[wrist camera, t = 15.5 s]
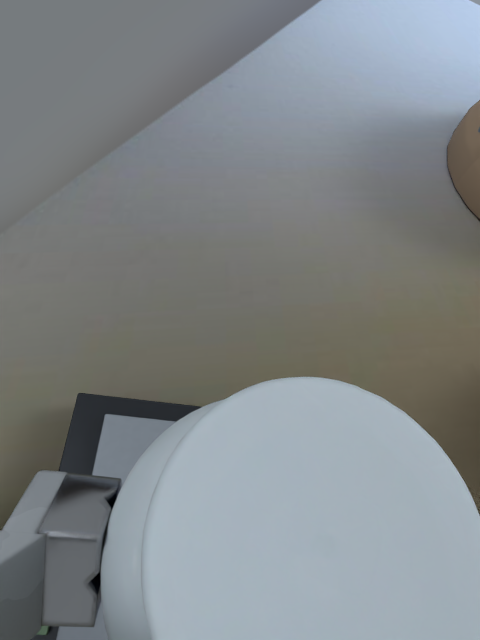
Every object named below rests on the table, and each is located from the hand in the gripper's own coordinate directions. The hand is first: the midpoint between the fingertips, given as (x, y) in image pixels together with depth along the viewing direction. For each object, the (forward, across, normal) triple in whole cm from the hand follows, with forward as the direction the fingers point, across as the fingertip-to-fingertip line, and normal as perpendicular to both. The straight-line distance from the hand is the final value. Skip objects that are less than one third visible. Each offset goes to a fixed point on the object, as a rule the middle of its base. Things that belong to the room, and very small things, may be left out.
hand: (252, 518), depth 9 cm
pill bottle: (+4, 0, +4) cm, 6 cm away
